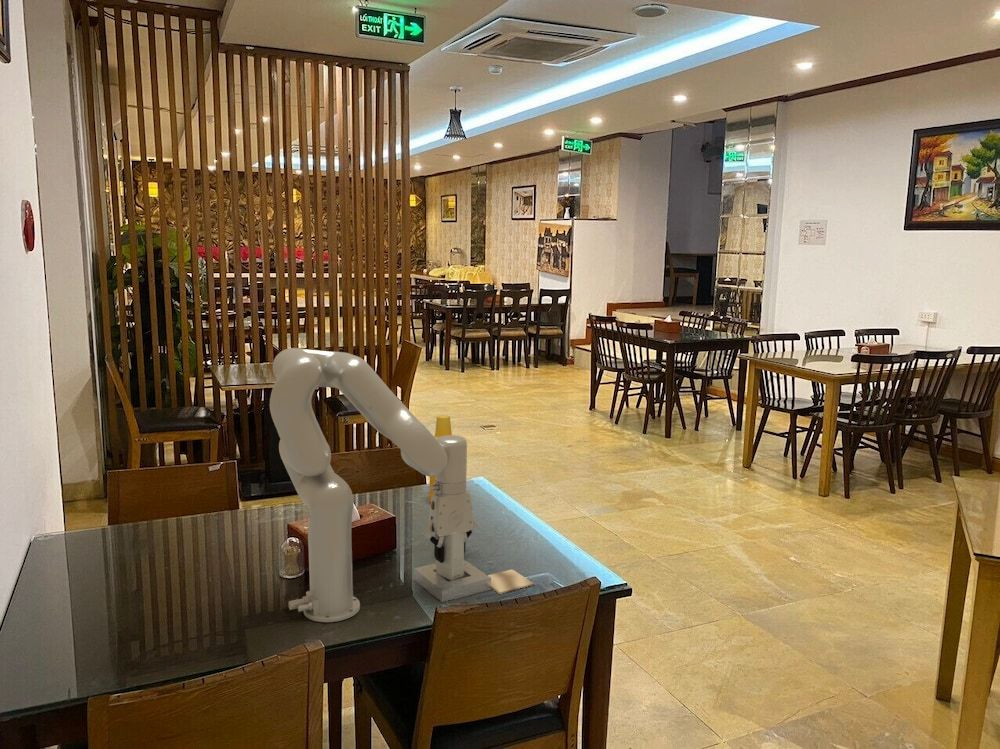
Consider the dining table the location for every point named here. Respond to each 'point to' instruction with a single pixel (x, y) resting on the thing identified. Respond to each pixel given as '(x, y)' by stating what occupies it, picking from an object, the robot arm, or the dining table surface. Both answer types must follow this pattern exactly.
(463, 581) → the white rectangular frame
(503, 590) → the wooden coaster
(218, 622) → the dining table surface
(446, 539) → the skincare box
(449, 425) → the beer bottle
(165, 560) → the dining table surface
